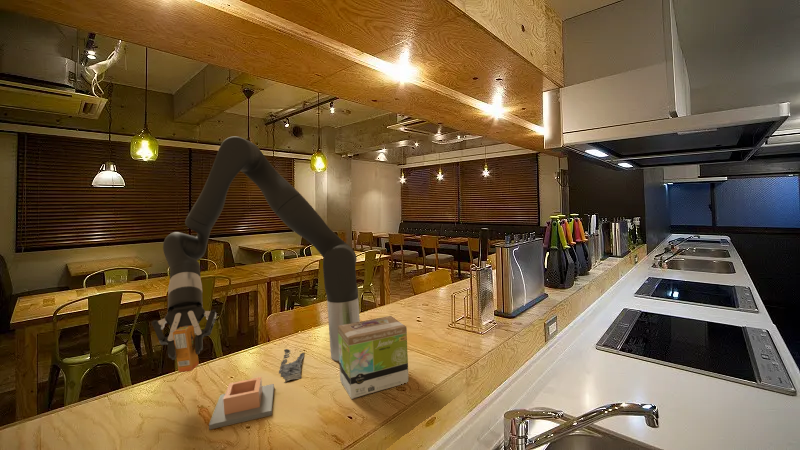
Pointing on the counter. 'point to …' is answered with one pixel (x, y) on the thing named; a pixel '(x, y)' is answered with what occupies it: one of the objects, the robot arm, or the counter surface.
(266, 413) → the slate board
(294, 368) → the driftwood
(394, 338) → the tea box
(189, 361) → the supplement box
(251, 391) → the terracotta holder
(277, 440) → the counter surface
